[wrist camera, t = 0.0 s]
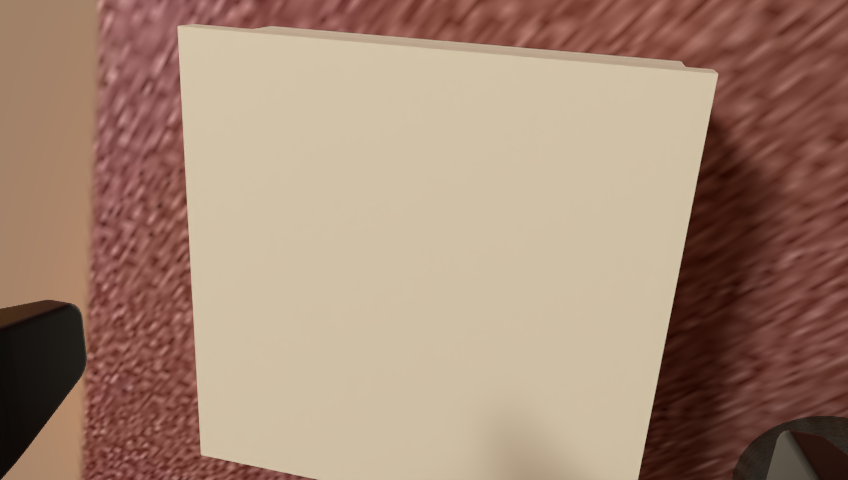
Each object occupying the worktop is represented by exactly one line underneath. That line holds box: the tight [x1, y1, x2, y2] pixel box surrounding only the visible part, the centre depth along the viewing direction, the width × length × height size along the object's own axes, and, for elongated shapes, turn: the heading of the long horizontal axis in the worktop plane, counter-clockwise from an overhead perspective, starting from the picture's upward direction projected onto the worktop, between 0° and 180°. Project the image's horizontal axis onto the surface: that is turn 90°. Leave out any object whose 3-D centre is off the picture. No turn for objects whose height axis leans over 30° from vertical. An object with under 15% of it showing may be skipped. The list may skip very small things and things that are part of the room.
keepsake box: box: [178, 24, 718, 480], centre depth 22 cm, size 13×13×5 cm
